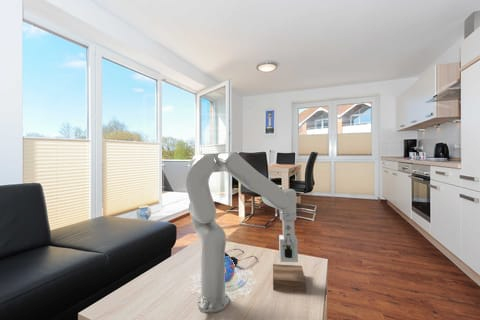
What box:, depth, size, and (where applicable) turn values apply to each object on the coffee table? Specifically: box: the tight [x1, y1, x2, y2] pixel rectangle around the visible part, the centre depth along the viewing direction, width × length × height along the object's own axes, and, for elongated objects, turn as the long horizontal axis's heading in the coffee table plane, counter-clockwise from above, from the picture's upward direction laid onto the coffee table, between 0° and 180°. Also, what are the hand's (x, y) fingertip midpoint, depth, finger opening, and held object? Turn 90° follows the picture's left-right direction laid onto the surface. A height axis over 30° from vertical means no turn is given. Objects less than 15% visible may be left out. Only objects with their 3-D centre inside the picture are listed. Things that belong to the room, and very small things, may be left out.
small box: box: [278, 234, 299, 263], centre depth 105 cm, size 8×6×10 cm
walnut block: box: [272, 263, 307, 293], centre depth 105 cm, size 14×14×5 cm
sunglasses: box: [225, 248, 257, 268], centre depth 129 cm, size 14×16×5 cm
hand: (288, 253), depth 105 cm, fingers closed on small box, 5 cm apart
